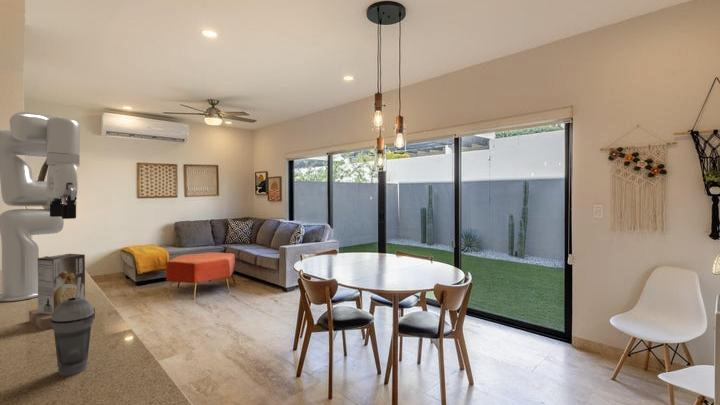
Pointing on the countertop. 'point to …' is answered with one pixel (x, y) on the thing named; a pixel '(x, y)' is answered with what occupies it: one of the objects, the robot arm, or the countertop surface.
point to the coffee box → (59, 280)
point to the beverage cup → (72, 333)
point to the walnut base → (42, 319)
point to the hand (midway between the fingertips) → (62, 217)
